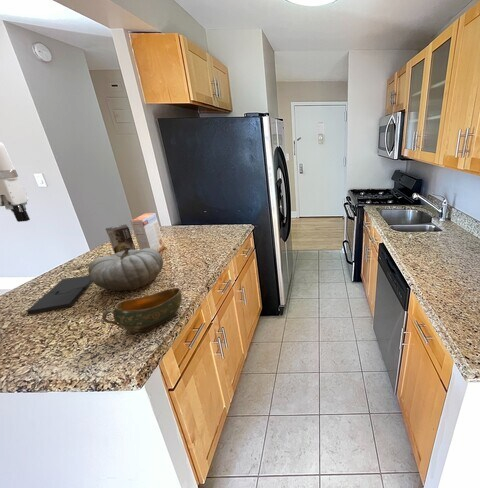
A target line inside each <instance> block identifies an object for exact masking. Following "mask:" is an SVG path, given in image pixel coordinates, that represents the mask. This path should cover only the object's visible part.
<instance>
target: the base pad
mask: <svg viewBox="0 0 480 488" xmlns="http://www.w3.org/2000/svg"><path fill="white" fill-rule="evenodd" d="M84 292H85V290H84V288H78V289H73V290H72V291H71V292H70V293H64V294H58V295H57V292H53V293H48V292H47V293H45V294H44V295H42V296H41V297H40V298H39V299H38V300H37V301H36V302H35V303H34V304H32V306H30V307H29V308H28V310H26V312H27V314H28V315H32V314H39V313H45V312H49V311H54V310H61V309H66V308H72V306H73V305H74V304H75V303H76V301H78V299H80V297H81V296H82V295H83V294H84Z"/></svg>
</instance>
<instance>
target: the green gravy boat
mask: <svg viewBox="0 0 480 488" xmlns="http://www.w3.org/2000/svg"><path fill="white" fill-rule="evenodd" d="M181 304H182V291H181V289H180V288H179V287H174V288H168V289H165V290H161V291H159V292H155V293H153V294H149V295H144V296H140V297H134V298H129V299H125V300H121V301H118V302H117V303H116V304H115V305H114V308H113V309H107V310H104V311H103V312H102V315H101V319H102V321H103V322H105V323H107V324H111V325H114V326H117V327H119V328H120V329H121V330H126V331H128V332H130V333H132V334H140V333H143V332H146V331H149V330H151V329H153V328H156V327H159V326H160V325H162V324H164V323H166V322H168V321H169V320H171V319H173V317H175V316H176V314H178V310H179V309H180V306H181ZM110 313H112V314H113V321H112V320H108V319H107V316H108V314H110Z"/></svg>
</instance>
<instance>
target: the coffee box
mask: <svg viewBox="0 0 480 488" xmlns="http://www.w3.org/2000/svg"><path fill="white" fill-rule="evenodd" d="M105 231H106V234H107V237H108V239H109V242H110V245H111V247H112V251H113V254H115V253H118V252H121V251H125V250H126V247H129V250H137V248H136V246H135V243H134V239H133V236H132V233H131V231H130V228H129V226H128V225H127V224H121V225H116V226H111V227H106V228H105Z"/></svg>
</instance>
